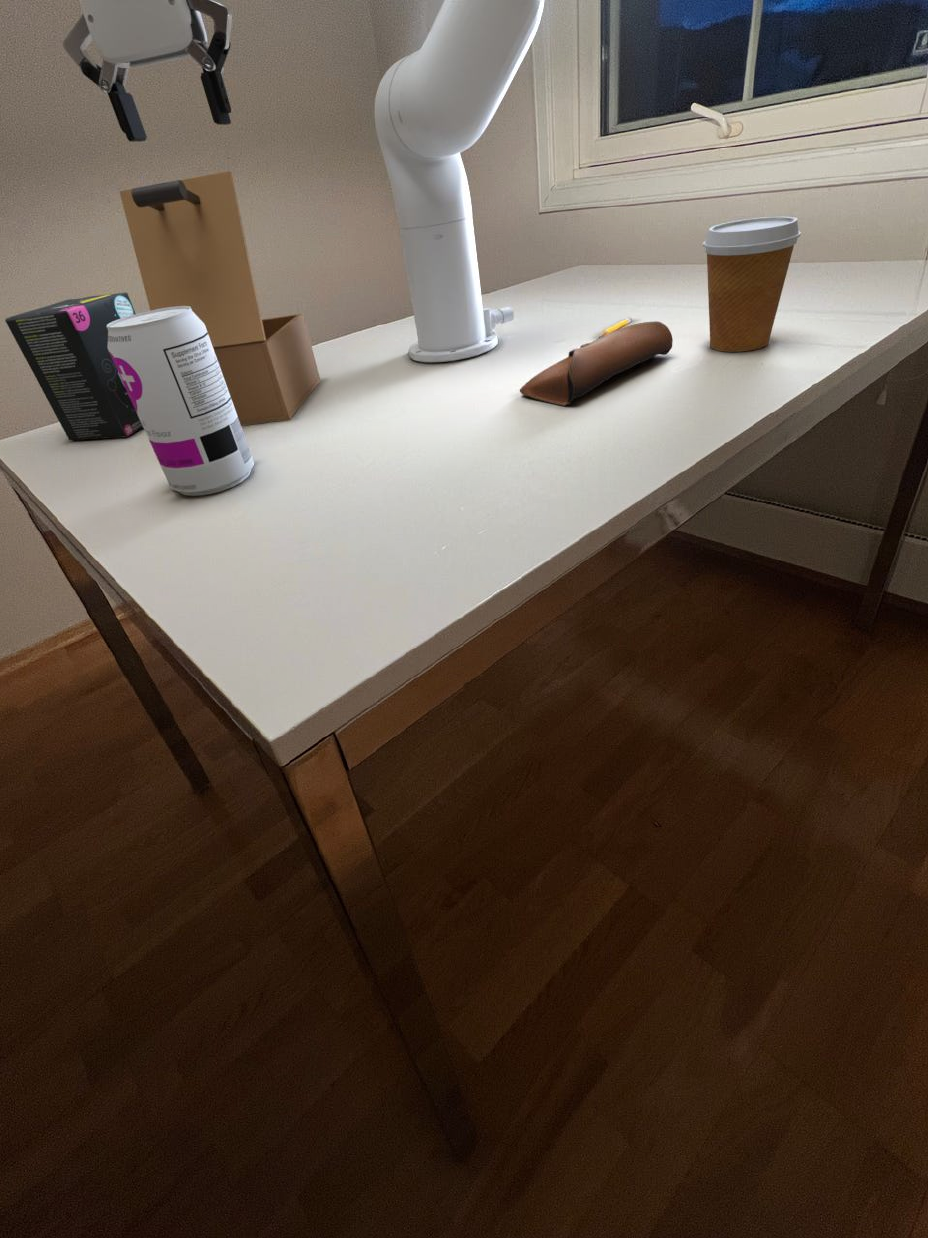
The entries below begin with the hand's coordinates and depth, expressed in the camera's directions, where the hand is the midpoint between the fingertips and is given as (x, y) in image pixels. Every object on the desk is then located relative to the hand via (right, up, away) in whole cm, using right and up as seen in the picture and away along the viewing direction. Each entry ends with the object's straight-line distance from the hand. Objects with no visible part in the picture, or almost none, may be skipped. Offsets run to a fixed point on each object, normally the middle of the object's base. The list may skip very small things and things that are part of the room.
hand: (180, 132), depth 66 cm
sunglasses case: (+45, -24, +5) cm, 51 cm away
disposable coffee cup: (+62, -19, +7) cm, 65 cm away
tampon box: (-15, -26, +17) cm, 34 cm away
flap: (+1, -14, +1) cm, 14 cm away
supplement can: (+5, -38, -4) cm, 38 cm away
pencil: (+51, -12, +20) cm, 56 cm away
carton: (+4, -24, +15) cm, 28 cm away
